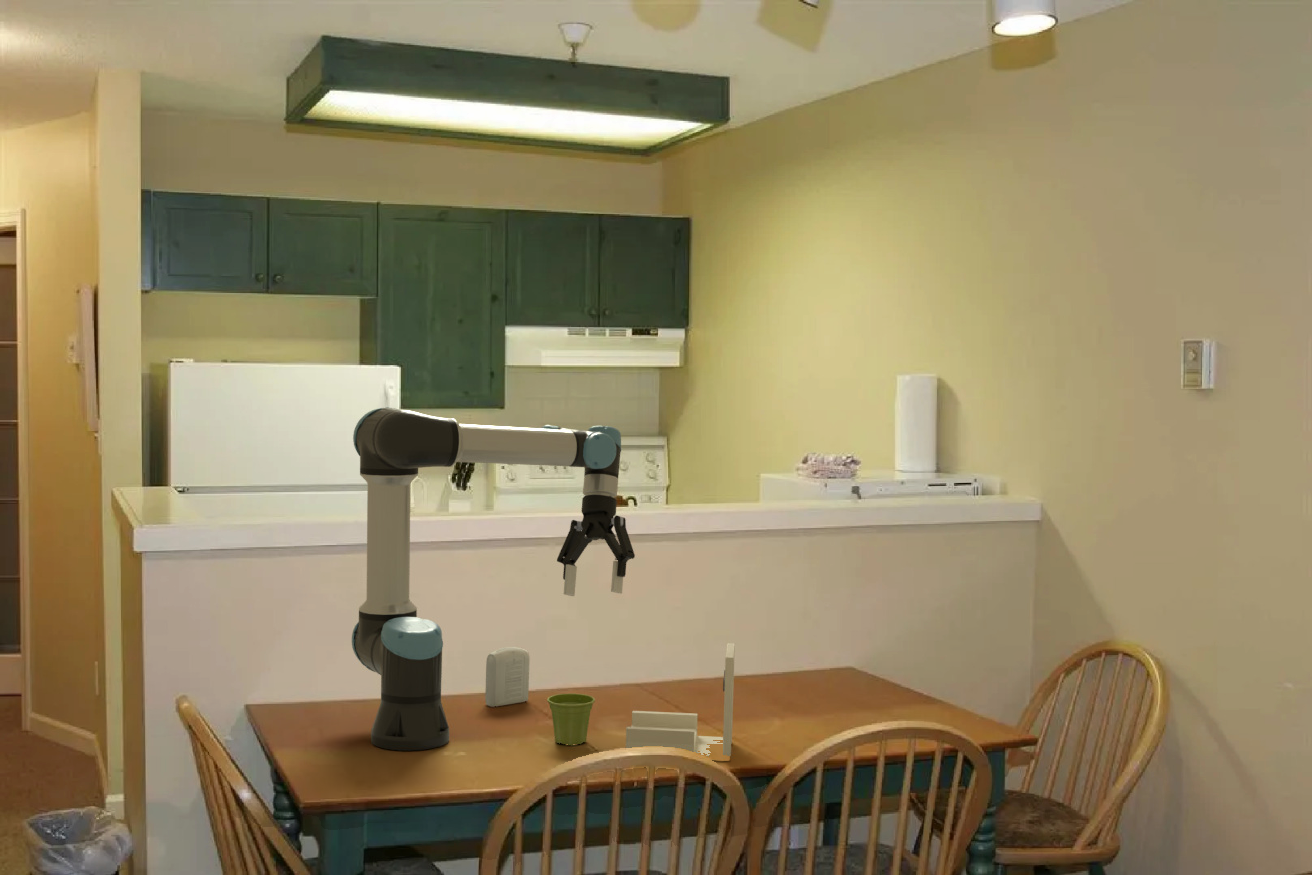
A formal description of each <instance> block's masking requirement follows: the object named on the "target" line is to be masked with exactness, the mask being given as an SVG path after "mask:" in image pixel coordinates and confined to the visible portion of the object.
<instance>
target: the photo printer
mask: <svg viewBox="0 0 1312 875" xmlns="http://www.w3.org/2000/svg"><path fill="white" fill-rule="evenodd" d="M485 662H486V664H485V665H486V667H485V668H486V669H485V692H484V693H485V694H484V695H485V697H484V698H485V704H486V706H488V707H492V708H496V707H499V706H500V707H501V706H506V705H507V706H508V705H512V704H519V703H525V701H526V702H528V701H529V688H530V687H529V686H530V685H529V684H530V682H529V681H530V654H529V652H528V650H527V649H525V648H522V647H517V646H506V647H500V648H498V649H496V650H494V651H491V652H490V653H489V654H488V655H487V657H486V661H485ZM495 706H496V707H495Z"/></svg>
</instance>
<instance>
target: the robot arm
mask: <svg viewBox="0 0 1312 875" xmlns="http://www.w3.org/2000/svg"><path fill="white" fill-rule="evenodd" d="M352 436H353V438H352V440H353V446H354V449H355V451H356V453H357V455H358V456H359V475H360V476H361V477H362V479H364V480H365V482H366V483H367V502H366V503H367V504H366V505H367V506H366V511H367V512H366V514H367V516H366V518H367V519H366V600H365V601H364V602H363V603H362V604H361V605H360V606H359V608H358V622H357V623H356V624H355V625H354V628H353V630H352V634H351V647H352V650H353V653H354V655H355V657H356V659H357V660H358V661H359V662H360V663H361V664H362V665H363V667H365V668H367V669H368V670H369V671H372V672H373V673H377V675H380V678H381V679H380V704H379V707H378V710H377V712H376V715H375V719H374V721H373V724H372V727H371V731H370V733H371V734H370V742H371V744H372V745H373V746H375V747H378V748H382V749H385V750H392V751H403V752H404V751H405V752H407V751H409V752H410V751H422V750H430V749H434V748H439V747H442V746H444V745H446V744H448V743H449V741H450V728H449V727H450V725H449V724H448V720H447V716H446V714H445V711H444V710H445V709H444V706H443V703H442V677H443V676H442V673H443V672H442V669H443V666H442V665H443V648H444V641H443V633H442V629H441V627H440V625H439V624H438V623H437V622H435V621H432V620H431V619H427V618H425V619H424V618H422V617H417V616H418V613H417V612H418V611H417V609H418V607H417V606H416V605H415V604H414V603H413V602H412V601H411V599H410V562H411V558H410V556H411V550H410V549H411V548H410V547H411V538H410V537H411V483H412V482H413V481H414V480H415V479H416V478H417V477H418V476H419V469H420V468H431V467H433V468H435V467H437V468H438V467H442V468H443V467H445V468H452V467H454V465H456V464H457V463H476V464H479V463H480V464H497V465H498V464H500V465H525V466H528V465H529V466H530V465H531V466H550V467H551V466H553V467H554V466H555V467H571V468H584V477H583V485H582V486H583V487H582V494H583V495H584V496H583V497H582V499H581V500H582V501H581V514H582V515H583V517H582V520H581V521H580V520H575V519H572V520H571V521H570V525H569V526H570V527H569V528H570V529H569V531H568V533H567V536H566V538H565V539H564V540H565V541H564V542H563V545H562V546H561V549H560V551H559V554H558V556H557V558H556V562H558V563H561V564H562V565H563V573H562V579H563V580H564V585H563V586H564V587H563V595H565V596H570V597H575V593H576V584H577V582H576V581H577V570H578V566H577V565H576V563H577V561H578V560H579V558H580V557H581V555H582V554H583V553H584V551H585V549H586V548H587V546H588V545H589V544H591V543H592V542H593V541H598V540H604V541H605V542H606V544H607V546H608V548H609V549H610V551H611V552H612V555H613V556H614V557H615V558H614V560H613V561H612V574H611V586H610V587H611V588H610V592H612V593H616V594H623V585H624V584H623V583H624V578H625V577H626V573H627V572H626V571H627V563H628V561H629V560H631V559H632V560H633V559H634V558H635V556H636V554H635V551H634V548H633V546H632V543H631V539H630V537H629V533H628V530H627V525H626V520H627V519H626V518H625V517H623V516H621V515H617V504H618V501H617V499H616V497H617V496H618V489H619V488H618V487H619V475H620V473H619V472H620V462H621V460H620V459H621V453H622V435H621V432H620V430H619V429H617V428H615V427H614V426H613V427H612V426H607V425H593V426H590V428H588V430H583V429H582V430H581V429H574V428H573V429H572V428H565V427H562V426H559V425H551V424H545V425H543V426H542V427H541V428H538V427H537V428H536V427H519V426H518V427H517V426H504V425H503V426H502V425H487V424H486V425H484V424H482V425H481V424H467V423H458V421H457V420H456V419H455V418H452V417H439V416H433V415H429V414H424V413H420V412H417V411H413V410H409V409H400V408H396V407H388V406H387V407H386V406H385V407H380V408H375V409H372V410H369V411H368V412H366V413H365V414H364V415H363V416H362V417H361V418H360V419H359V420H358V421H357V423H356V425H355V428H354V430H353V435H352ZM613 527H614V528H613ZM613 529H614V530H615V533H614V530H613ZM616 537H617V538H616Z"/></svg>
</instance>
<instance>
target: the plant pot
mask: <svg viewBox="0 0 1312 875" xmlns="http://www.w3.org/2000/svg"><path fill="white" fill-rule="evenodd" d="M595 701H596V699H595V697H593V696H591V695H589V694H585V693H584V694H583V693H562V694H561V693H558V694H553V695H551V696H548V697H547V703H548V705H549V709H550V710H551V718H552V725H553V734H554V742H555V741H556V742H557V743H559V744H558V745H560V743H561V744H563V745H564V744H568V745H571V746H574V745H573V744H580V745H581V744H582V743H583V742H585V743H586V742H587V736H588V731H589V730H588V728H589V722H590V715H591V710H592V708H593V704H594V703H595ZM556 742H555V743H556ZM557 743H556V744H557ZM583 744H584V743H583Z"/></svg>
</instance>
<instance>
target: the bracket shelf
mask: <svg viewBox="0 0 1312 875" xmlns="http://www.w3.org/2000/svg"><path fill="white" fill-rule="evenodd" d="M735 645H736V643H735V642H734V643H733V642H727V643H726V649H725V650H726V652H725V659H724V660H725V662H724V663H725V665H724V669H723V671H724V672H723V679H722V692H723V693H724V696H723V697H724V699H723V700H724V701H723V728H722V729H723V731H722V732H723V733H722V736H708V735H707V736H706V735H705V736H704V735H698V713H691V712H689V713H687V712H671V711H670V712H667V711H666V712H665V711H649V710H648V711H646V710H645V711H644V710H632V713H631V726H626V729H625V749H626V748H632V747H643V746H663V747H675V748H681V749H686V750H689V751H692V752H696V753H701V755H704V754H703V753H705V754H707V755H706V756H708V757H709V755H710V754H708V753H711V752H710V751H709V750H706V748H710V747H709V746H710V745H707V744H723V755H727V756H731V757H732V747H731V744H733V719H734V718H733V716H734V715H733V713H734V712H733V711H734V684H735V682H734V681H735V652H736V651H735V650H736V649H735ZM713 740H723V743H717V742H720V741H713ZM698 751H700V752H698Z"/></svg>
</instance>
